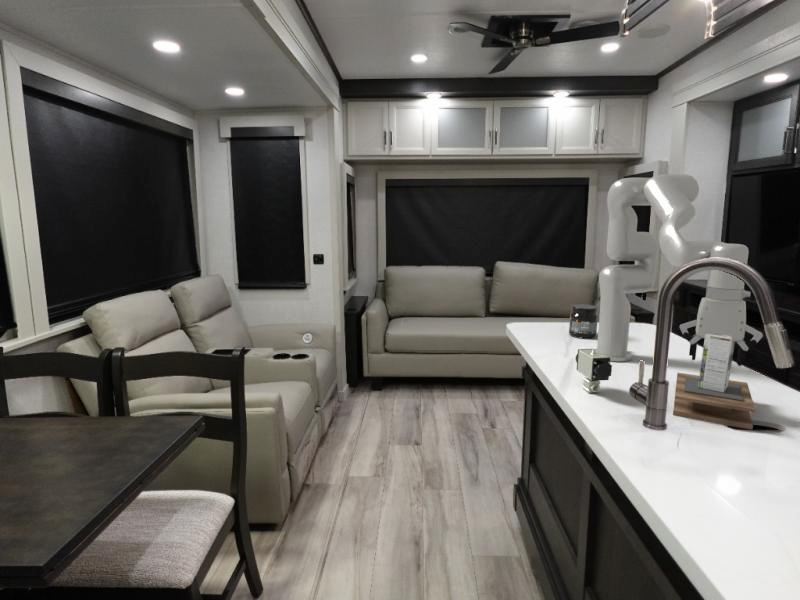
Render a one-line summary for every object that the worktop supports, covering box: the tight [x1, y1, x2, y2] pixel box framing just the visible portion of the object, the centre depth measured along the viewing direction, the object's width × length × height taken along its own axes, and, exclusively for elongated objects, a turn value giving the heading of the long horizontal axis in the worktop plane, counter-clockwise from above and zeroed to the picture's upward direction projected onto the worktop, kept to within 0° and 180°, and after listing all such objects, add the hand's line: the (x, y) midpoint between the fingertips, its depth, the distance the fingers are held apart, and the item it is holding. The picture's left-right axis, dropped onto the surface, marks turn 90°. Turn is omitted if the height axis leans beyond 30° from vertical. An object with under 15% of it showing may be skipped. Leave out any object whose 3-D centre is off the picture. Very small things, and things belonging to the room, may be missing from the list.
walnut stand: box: [672, 371, 756, 431], centre depth 123 cm, size 20×16×5 cm
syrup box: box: [698, 333, 736, 393], centre depth 121 cm, size 6×6×14 cm
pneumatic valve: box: [575, 348, 613, 394], centre depth 134 cm, size 6×12×12 cm, turn 7°
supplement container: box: [568, 303, 599, 339], centre depth 193 cm, size 10×10×12 cm
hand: (715, 361), depth 121 cm, fingers open, 9 cm apart
